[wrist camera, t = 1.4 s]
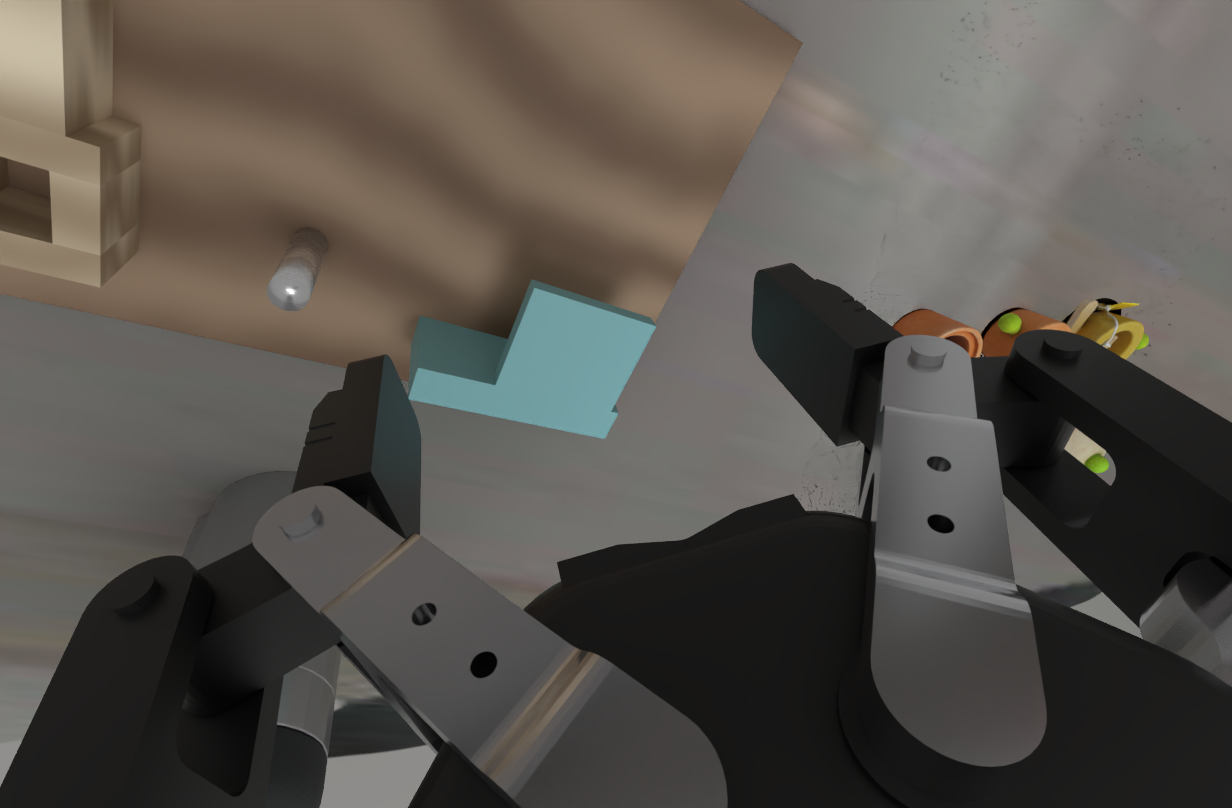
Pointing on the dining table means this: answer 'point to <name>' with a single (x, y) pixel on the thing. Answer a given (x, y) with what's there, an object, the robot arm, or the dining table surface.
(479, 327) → the walnut board
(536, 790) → the robot arm
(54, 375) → the dining table surface
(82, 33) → the maple link
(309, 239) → the rod
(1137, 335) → the toy tea set
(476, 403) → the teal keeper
